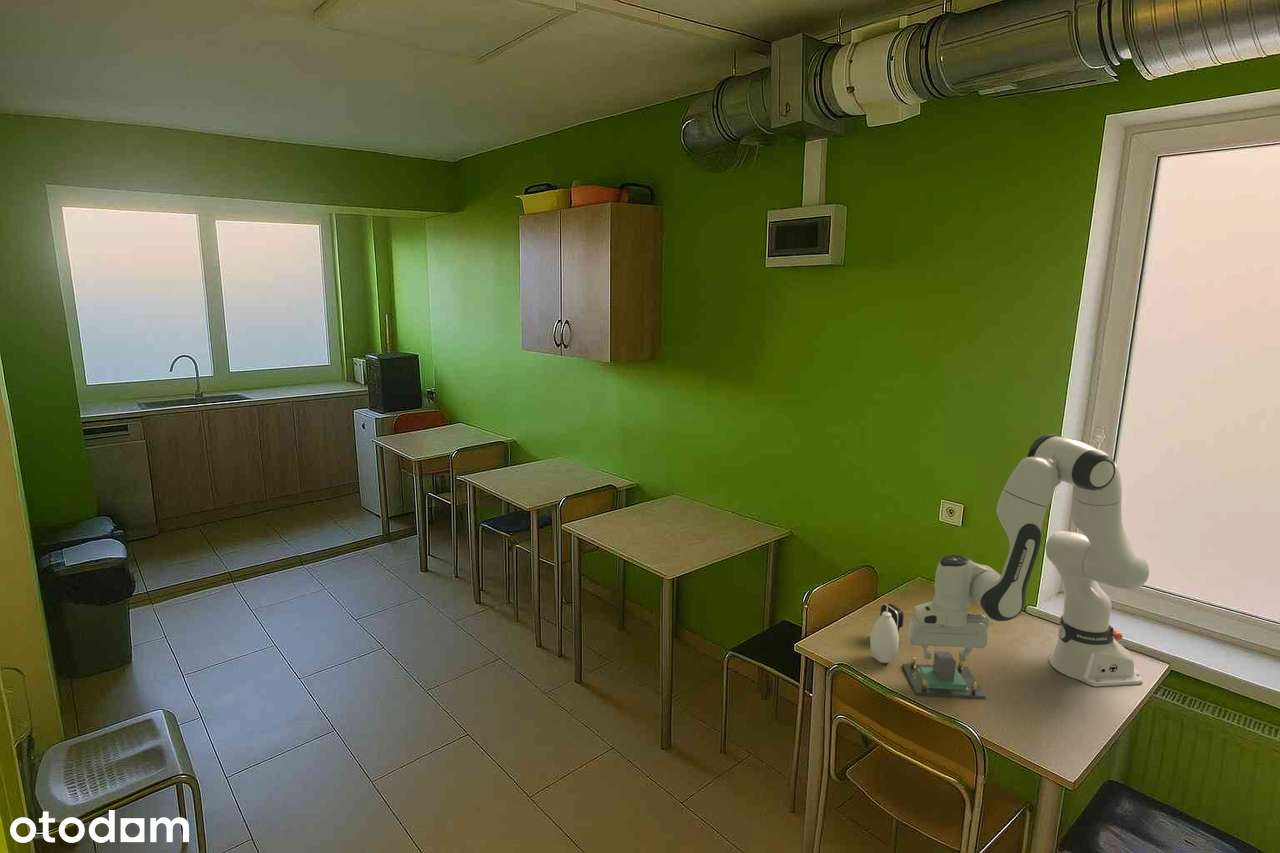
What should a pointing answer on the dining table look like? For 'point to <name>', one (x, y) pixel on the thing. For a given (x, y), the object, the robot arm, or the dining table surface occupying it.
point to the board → (943, 683)
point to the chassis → (922, 687)
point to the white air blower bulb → (884, 638)
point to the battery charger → (894, 614)
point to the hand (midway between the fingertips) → (944, 658)
